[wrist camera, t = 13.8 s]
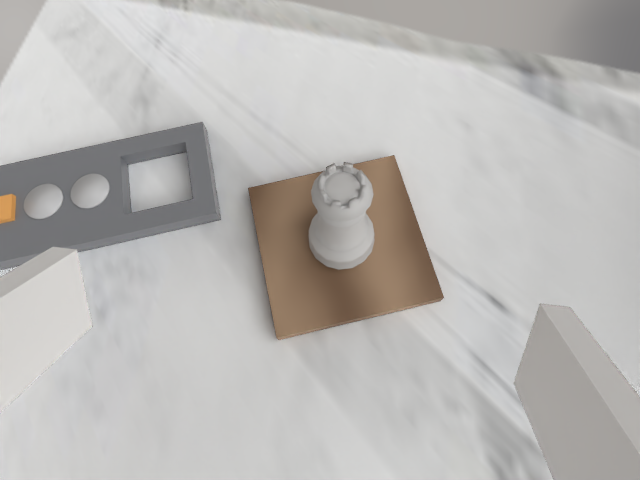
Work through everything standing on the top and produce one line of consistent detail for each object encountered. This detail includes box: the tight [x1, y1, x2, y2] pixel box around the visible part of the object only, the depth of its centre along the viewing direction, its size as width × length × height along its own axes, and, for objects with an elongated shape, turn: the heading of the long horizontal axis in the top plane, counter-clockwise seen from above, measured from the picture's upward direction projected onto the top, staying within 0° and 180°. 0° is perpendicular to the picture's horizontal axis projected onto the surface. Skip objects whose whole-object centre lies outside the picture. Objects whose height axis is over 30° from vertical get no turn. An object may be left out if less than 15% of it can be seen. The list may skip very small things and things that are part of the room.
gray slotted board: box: [0, 122, 221, 269], centre depth 31 cm, size 16×8×2 cm, turn 103°
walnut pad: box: [248, 155, 444, 340], centre depth 29 cm, size 11×11×1 cm
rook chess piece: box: [308, 162, 375, 270], centre depth 24 cm, size 4×4×8 cm
